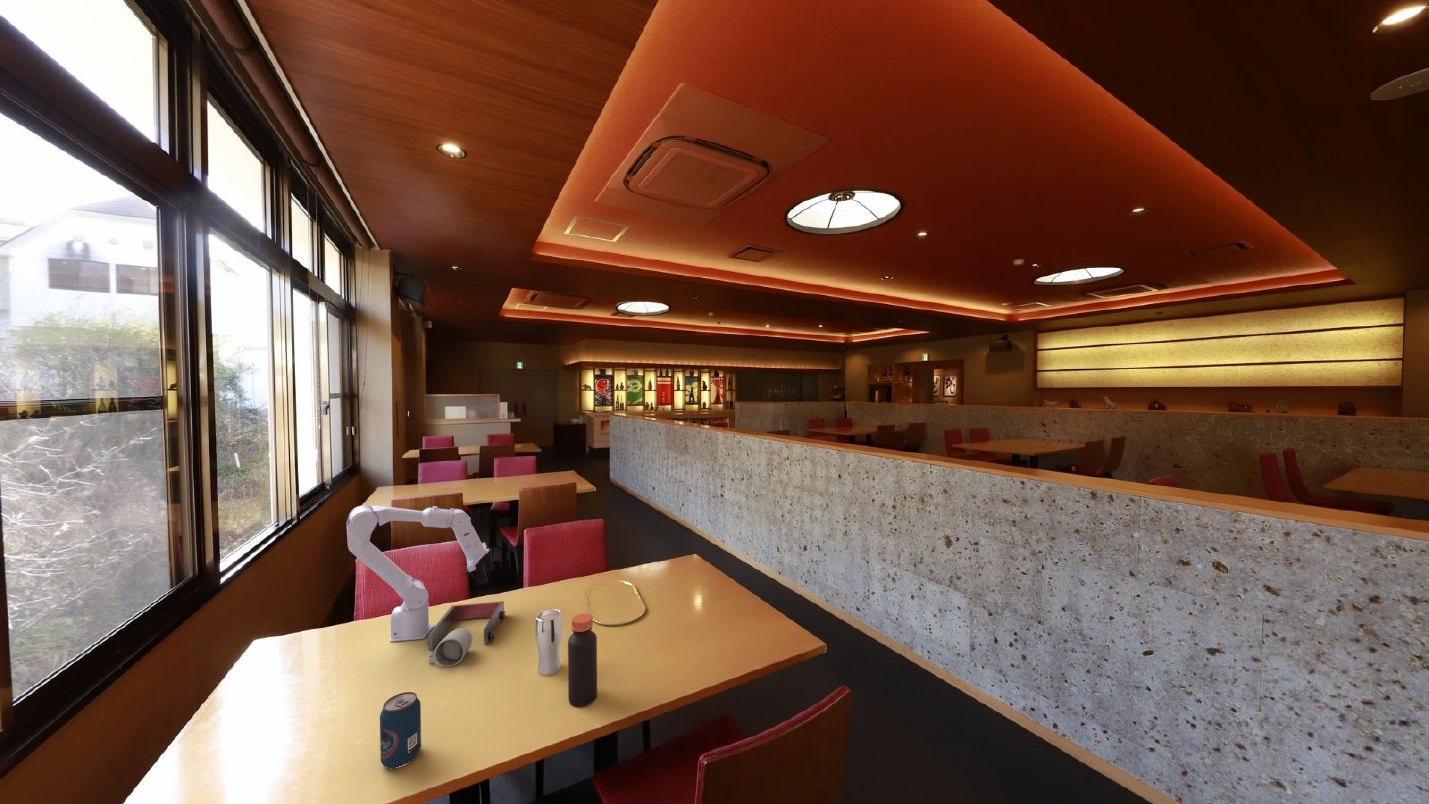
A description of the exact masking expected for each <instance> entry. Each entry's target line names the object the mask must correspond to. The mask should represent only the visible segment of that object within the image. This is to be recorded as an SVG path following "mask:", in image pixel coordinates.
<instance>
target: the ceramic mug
mask: <svg viewBox="0 0 1429 804" xmlns="http://www.w3.org/2000/svg"><path fill="white" fill-rule="evenodd" d="M472 643H473V634H472V633H471V631H470V630H468V629H467V628H461V627H460V628H456V629H454V630H452V631H449V633H448V634H447V635H446V636H445V637H444V638H443V639H442V640H441V641H440V642H438V643H437V644H438V645H437V646H435V649H434V651H433V652H432V653H431V654H430V655H429V656H427V661H428V663H429V664H434V663H437V664H438V665H440V666H442V667H445V668H450V667H451V668H452V667H455V666H457V665H458V664H459V663H460V662H461V661H462V660H463V659H464V657H465V655H466V654H467V652H468V651H469V649H470V648H471V646H472Z"/></svg>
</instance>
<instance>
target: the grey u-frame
mask: <svg viewBox="0 0 1429 804" xmlns="http://www.w3.org/2000/svg"><path fill="white" fill-rule="evenodd" d="M505 616H506V610H505V602H504V600H503V601H502V600H501V601H490V602H479V603H478V602H475V603H465V604H464V603H463V604H453V605H451V606H449V608H448V610H446V612H445V613H444V614H443V616H442V617H441V618H440V619H439V621H438V622H437V623H436V624H435V625H434V627H433V628H432V629H431V631H430V632H429V633H428V634H427V636H428V639H427V643H426V644H427V646H428V650H430V651H431V650H433V649H434V648H436V645H437V644H439V641H440V640H441V638H442V637H443V636H444V635H445V633H446V632H447V630H448V629H449V628H450V627H451V626H452V624H453V623H454V622H455V621H456V620H457V621H458V620H460V621H461V620H471V619H479V618H480V619H481V618H489V620H488V622H487V624H486V625H485V627H484V629H483V644H484V645H488V644H489V643H490V641H492V640H494V638H495V631H496V630H497V627H498V626H499V624H500V623H501V621H502V620H504V619H505V618H506V617H505Z"/></svg>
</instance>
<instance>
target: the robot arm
mask: <svg viewBox="0 0 1429 804" xmlns="http://www.w3.org/2000/svg"><path fill="white" fill-rule="evenodd" d="M347 517H348V518H347V521H346V535H347V536H346V537H347V547H348V551H349V552H351V554H353V555H354V556H355V557H356V558H357V559H358V560H359V561H361V562H362V563H363V564H364V565H366V567H368V568H369V569H370V570H371V571H373V572H374V573H375V574H376V575H377V576H378V577H380V578H381V579H382V580H383V581H384V582H385V583H386V584H388V585H389V586H390V587H391V588H392V589H394V591H395V592H396V594H397V595H398V596H399V597H400V598H401V599H402V601H403V602H402V603H401V605H400V606H396V607H394V608H393V610H392V613H391V616H390V639H389V643H390V642H391V643H393V642H402V641H414V640H423V639H425V638H426V637H427V636H428V634H429V633H430V632H431V631H432V629H433V628H434V627H435V624H429V623H430V618H429V616H430V615H429V612H430V611H429V596H430V594H429V592H428V590H427V589H426V587H425V584H424V582H423V581H422V580H420V579H416V578H413V577H412V576H411V575H409V574H407V573H406V572H404V571H403V570H402V568H401V567H399V566H398V565H397V564H396V563H395V562H393V560H391V559H390V558H389V557H388V556H387V555H386V554H384V553H383V552H382V551H381V550H380V549H379V548H378V547H377V546H375V545H374V544H373V543H372V542H371V540H370V539H371V536H372V533H373V531H374V530H375V528H376V527H377V524H378V525H379V526H380V527H381V526H383V525H385V524H386V523H388V522H391V521H396V522H397V521H398V522H416V523H417V522H418V523H421V525H422V526H423V527H427V528H428V527H430V528H439V529H440V528H441V529H446V528H451V529H452V531H453V532H454V534H455V535H454V536H455V538H456V540H457V542H458V544H459V546H460V548H461V550H462V551H463V552H462V553H464V555H465V558H466V564H467V566H466V570H465V573H466V575H467V576H468V575H469V576H470V577H471V578H474V579H475V580H476V581H477V582H478V583H479V584H480V585H481V586H482V585H486V584H487V583H488V582H489V579H488V576H487V573H488V572H491V571H494V569H495V568H494V563H493V558H492V551H493V548H492V547H488V546H487V543H486V542H482V541H481V540H480V537H479V535H478V533H477V531H476V530H475V527H474V526H473V525H472V522H471V521H472V520H471V516H469V514H468V513H466V512H465V511H464V510H463V509H459V508H452V507H451V508H450V509H446V508H445V509H444V508H439V507H438V506H437V505H436V506H434V505H433V506H432V507H427V508H425V509H424V510H416V509H408V508H400V507H393V506H385V505H371V506H370V505H359V506H356V507H354V508H353V509H351V511H350V513H349V514H348V516H347ZM487 547H488V548H487ZM478 562H479V563H480V564H478ZM486 572H487V573H486Z"/></svg>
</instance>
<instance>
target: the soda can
mask: <svg viewBox="0 0 1429 804" xmlns="http://www.w3.org/2000/svg"><path fill="white" fill-rule="evenodd" d="M421 710H422V709H421V701H420V699H419V698H418V695H417V693H415V692H413V691H406V692H400V693H398V694H395V695H392V696H391V697H389V698H388V699H387V700H385V702H384V704H383V707H382V710H381V712H380V714H379V741H380V742H379V746H380V747H379V750H380V755H379V756H380V758H379V759H380V762H381V764H382V765H383V766H384V767H385V768H386V767H387V768H386V769H388V768H396V767H399V766H402V765H404V764H406V763H408V762H409V761H411V760H412V759H414V758H415V759H416V757H417V756H416V755H418V754H419V752H420V751H421V748H422V717H421V715H422V713H421V712H422V711H421ZM415 759H414V760H415ZM411 762H412V761H411Z"/></svg>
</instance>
